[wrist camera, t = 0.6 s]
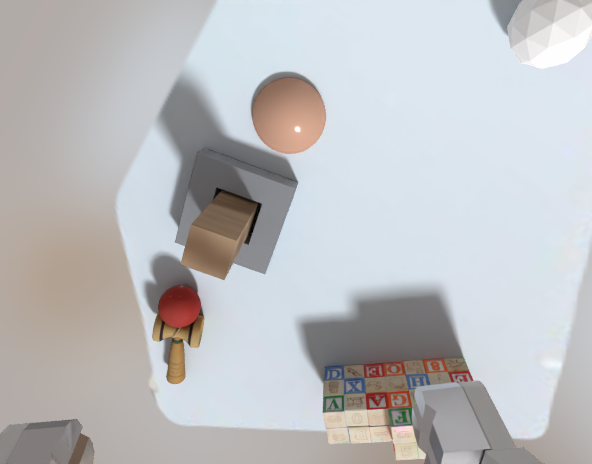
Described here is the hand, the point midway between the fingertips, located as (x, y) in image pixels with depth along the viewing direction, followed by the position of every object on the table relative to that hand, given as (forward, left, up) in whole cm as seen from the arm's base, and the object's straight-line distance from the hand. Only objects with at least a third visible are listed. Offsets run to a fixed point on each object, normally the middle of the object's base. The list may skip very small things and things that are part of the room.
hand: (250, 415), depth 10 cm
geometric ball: (-13, +22, -45) cm, 52 cm away
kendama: (+33, -18, -45) cm, 59 cm away
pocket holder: (+12, -10, -45) cm, 48 cm away
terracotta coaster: (-1, -4, -45) cm, 45 cm away
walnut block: (+12, -10, -45) cm, 48 cm away
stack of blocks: (+37, +16, -45) cm, 60 cm away
